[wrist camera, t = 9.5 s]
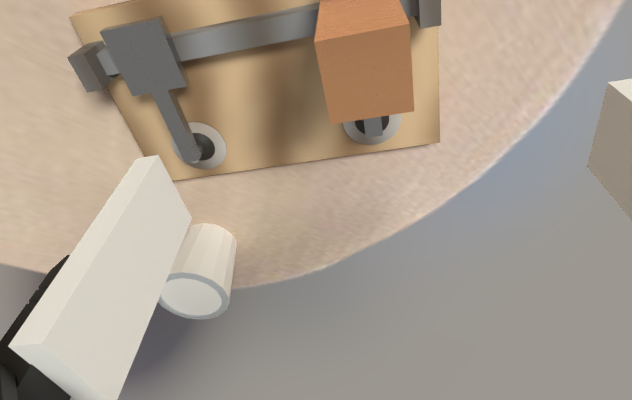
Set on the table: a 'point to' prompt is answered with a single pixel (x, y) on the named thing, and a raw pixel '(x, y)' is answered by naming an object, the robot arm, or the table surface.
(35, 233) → the table surface
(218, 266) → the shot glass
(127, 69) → the fixed leg
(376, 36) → the block
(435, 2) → the bolt plate
